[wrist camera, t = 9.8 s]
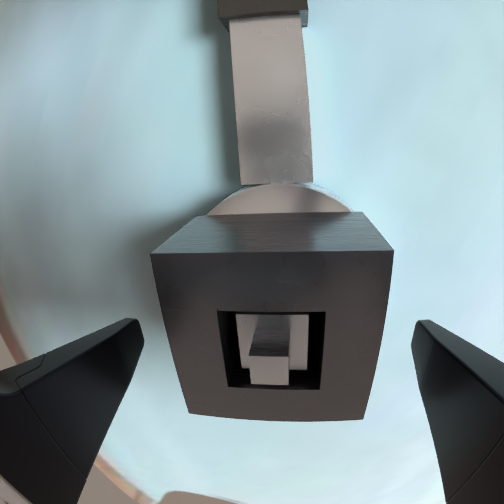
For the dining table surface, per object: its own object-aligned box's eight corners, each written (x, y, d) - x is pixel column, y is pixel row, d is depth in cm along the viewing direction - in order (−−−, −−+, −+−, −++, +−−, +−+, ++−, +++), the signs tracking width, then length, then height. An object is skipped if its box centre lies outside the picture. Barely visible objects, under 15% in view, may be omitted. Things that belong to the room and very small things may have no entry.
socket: (362, 212, 10) (394, 250, 7) (351, 349, 12) (363, 419, 9) (196, 215, 11) (149, 253, 8) (215, 348, 13) (188, 413, 10)
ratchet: (346, -55, 8) (365, -142, 2) (363, 342, 14) (387, 447, 8) (174, -39, 9) (108, -108, 3) (207, 341, 16) (163, 438, 10)
